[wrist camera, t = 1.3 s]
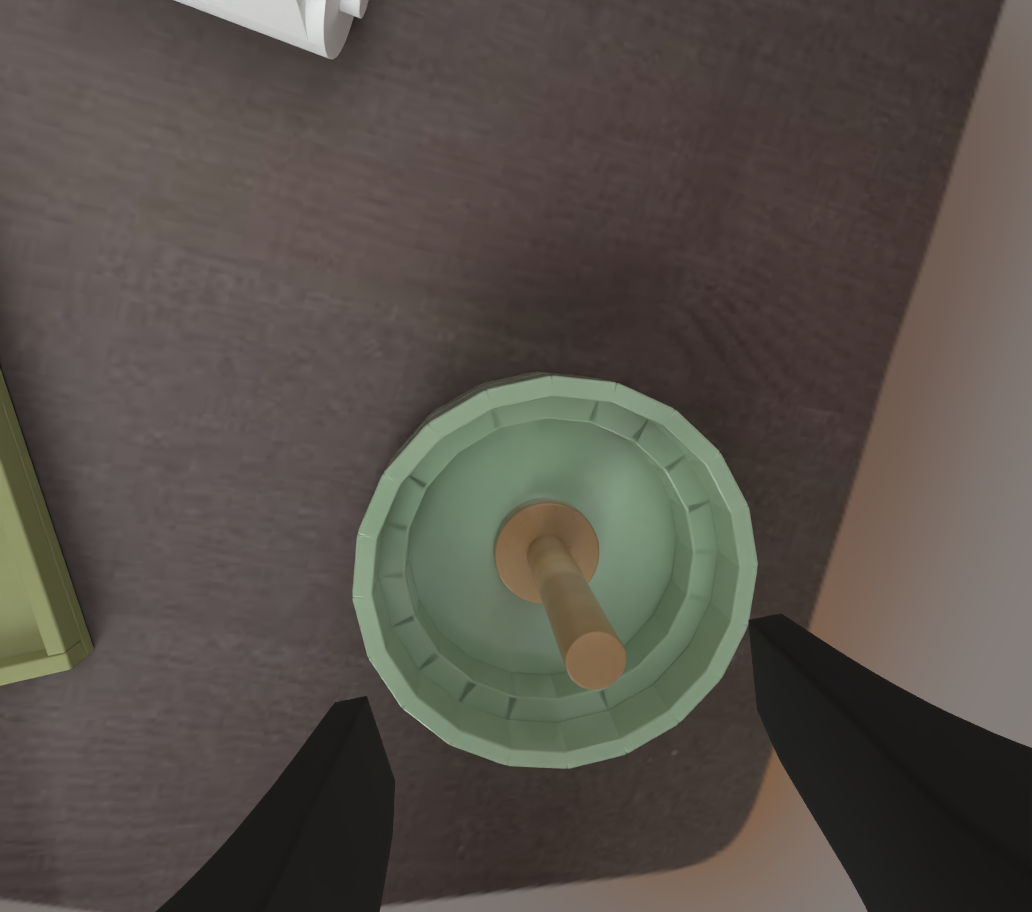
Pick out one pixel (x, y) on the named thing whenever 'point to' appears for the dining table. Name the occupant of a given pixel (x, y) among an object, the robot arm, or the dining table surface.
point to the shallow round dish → (525, 625)
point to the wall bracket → (292, 20)
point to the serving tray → (32, 570)
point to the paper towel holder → (561, 584)
